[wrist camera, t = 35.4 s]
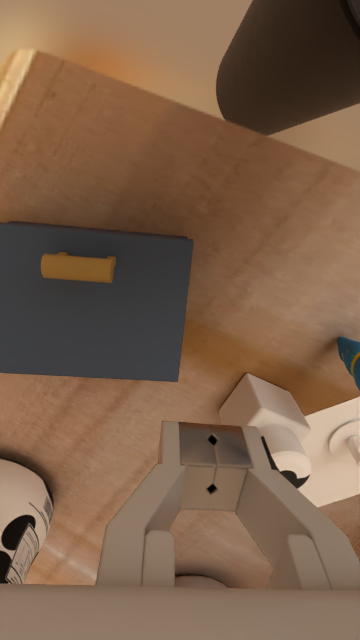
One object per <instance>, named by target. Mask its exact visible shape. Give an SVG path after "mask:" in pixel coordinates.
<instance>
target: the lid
mask: <svg viewBox="0 0 360 640" xmlns="http://www.w3.org/2000/svg"><path fill="white" fill-rule="evenodd" d="M192 251H193V240H192V239H180V238H169V237H158V236H147V235H136V234H125V233H114V232H102V231H91V230H80V229H69V228H58V227H47V226H36V225H25V224H13V223H2V222H0V373H14V374H34V375H53V376H72V377H92V378H111V379H130V380H150V381H169V382H178V375H179V366H180V357H181V348H182V339H183V331H184V322H185V313H186V304H187V295H188V286H189V277H190V269H191V260H192Z"/></svg>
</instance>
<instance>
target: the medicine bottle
mask: <svg viewBox="0 0 360 640" xmlns="http://www.w3.org/2000/svg"><path fill="white" fill-rule="evenodd" d="M219 415H220V419H221V424H222V425H234V426H255V427H256V428H257V429H258V431H259V434H260V437H261V440H262V443H263V446H264V449H265V451H266V454H267V457H268V460H269V463H270V466H271V469H272V470H277V471H278V472H279V473H280V474H282V475H283V476H284V477H285V478H286V479H287V480H288V481H289V482H290V483H291V484H292V485H293V486H294V487H296V488H297V489H298V488H300V487H301V486H302V485H303V484H304V483H305V482H306V481H307V480H308V478H309V476H310V473H311V463H310V461H309V459H308V457H307V455H306V453H305V451H304V449H303V447H302V445H301V442H302V441H303V440H304V438H305V437H306V436H307V435H308V434H309V433H310V432H311V428H310V426H309V424H308V423H307V421H306V419H305V417H304V416H303V414H302V412H301V410H300V409H299V407H298V405H297V404H296V402H295V400H294V398H293V397H292V395H291V393H290V392H289V391H286V390H284V389H282V388H280V387H278V386H275V385H273V384H271V383H269V382H266V381H264V380H262V379H260V378H258V377H255V376H253V375H251V374H249V373H247V374H245V375H244V377H243V378H242V379H241V381H240V382H239V384H238V385H237V386H236V388H235V389H234V390H233V392H232V393H231V395H230V396H229V397H228V399H227V400H226V401H225V403H224V404H223V406H222V407H221V408H220V410H219Z"/></svg>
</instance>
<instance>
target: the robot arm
mask: <svg viewBox="0 0 360 640" xmlns="http://www.w3.org/2000/svg"><path fill="white" fill-rule="evenodd" d="M179 510H217V511H232V512H236V515H237V516H238V518H239V519H240V520H241V522H242V523H243V525H244V526H245V528H246V529H247V530H248V532H249V533H250V535H251V536H252V538H253V539H254V540H255V542H256V543H257V545H258V546H259V548H260V549H261V550H262V552H263V553H264V555H265V556H266V558H267V559H268V560H269V562H270V563H271V565H272V566H273V568H274V570H273V573H272V575H271V577H270V580H269V582H268V585H267V587H266V589H249V588H196V587H175V563H174V535H172V534H171V533H170V532H169V531H168V530H169V528H170V527H171V525H172V523H173V521H174V519H175V518H176V516H177V514H178V512H179ZM0 640H360V562H359V560H358V558H357V555H356V553H355V551H354V549H353V547H352V545H351V543H350V541H349V539H348V537H347V535H346V534H345V533H344V532H343V531H342V530H341V529H340V528H338V527H337V526H336V525H335V524H334V523H333V522H332V521H331V520H330V519H329V518H328V517H327V516H326V515H325V514H323V513H322V512H321V511H320V510H319V509H318V508H317V507H316V506H315V505H314V504H313V503H312V502H311V501H309V500H308V499H307V498H306V497H305V496H304V495H303V494H302V493H301V492H300V491H299V490H298V489H297V488H296V487H294V486H293V485H292V484H291V483H290V482H289V481H288V480H287V479H286V478H285V477H284V476H283V475H282V474H280V473H279V472H278V471H277V470H272V469H271V466H270V463H269V460H268V457H267V454H266V451H265V449H264V446H263V443H262V440H261V437H260V434H259V431H258V429H257V428H256V427H255V426H234V425H214V424H199V423H187V422H170V421H162V425H161V434H160V443H159V453H158V464H156V465H155V466H154V467H153V468H152V470H151V471H150V472H149V473H148V475H147V476H146V477H145V478H144V480H143V481H142V482H141V483H140V485H139V486H138V487H137V488H136V490H135V491H134V492H133V493H132V495H131V496H130V497H129V498H128V500H127V501H126V502H125V503H124V505H123V506H122V507H121V508H120V510H119V511H118V512H117V513H116V514H115V516H114V517H113V518H112V519H111V521H110V522H109V523H108V524H107V526H106V529H105V535H104V540H103V546H102V551H101V557H100V562H99V568H98V574H97V579H96V585H45V584H0Z"/></svg>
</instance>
